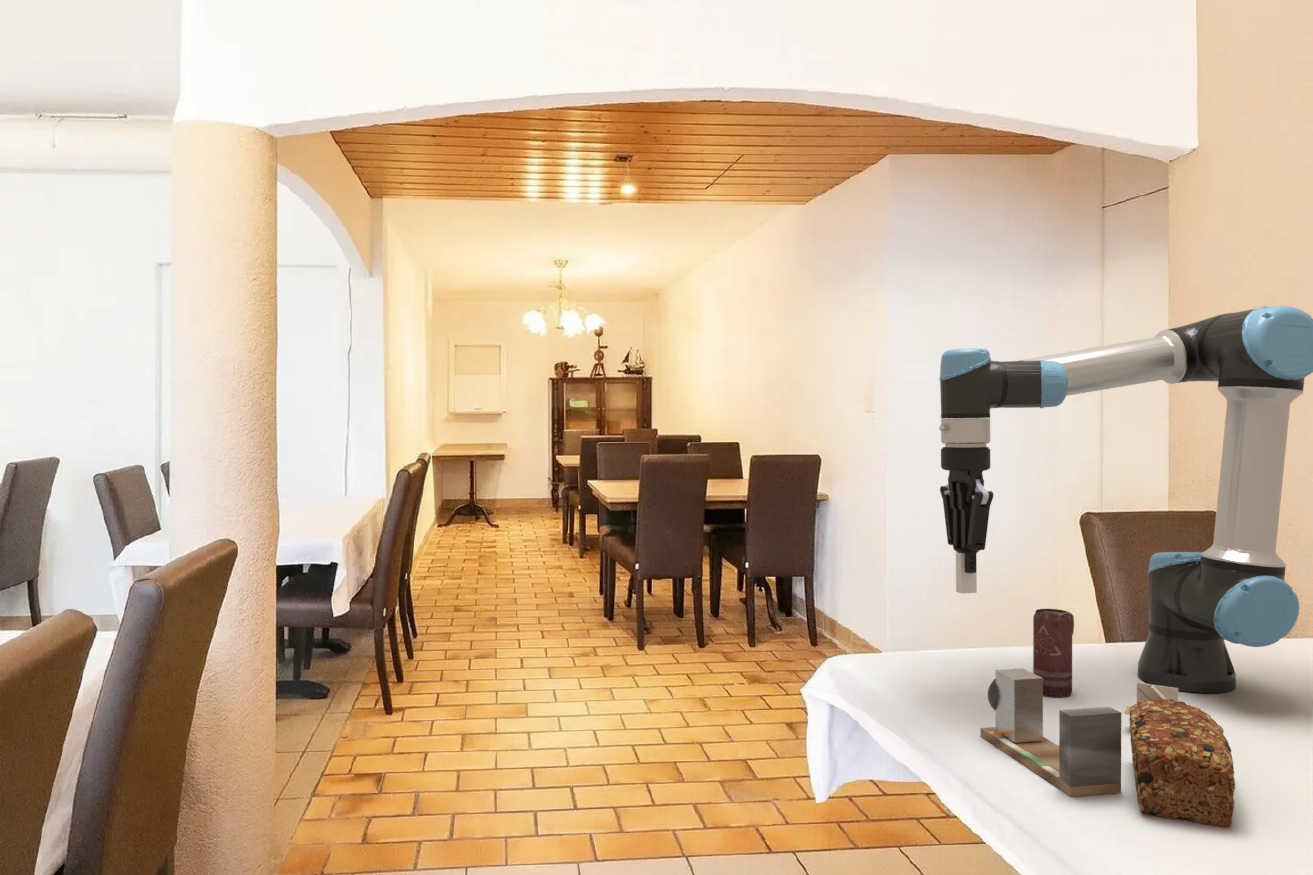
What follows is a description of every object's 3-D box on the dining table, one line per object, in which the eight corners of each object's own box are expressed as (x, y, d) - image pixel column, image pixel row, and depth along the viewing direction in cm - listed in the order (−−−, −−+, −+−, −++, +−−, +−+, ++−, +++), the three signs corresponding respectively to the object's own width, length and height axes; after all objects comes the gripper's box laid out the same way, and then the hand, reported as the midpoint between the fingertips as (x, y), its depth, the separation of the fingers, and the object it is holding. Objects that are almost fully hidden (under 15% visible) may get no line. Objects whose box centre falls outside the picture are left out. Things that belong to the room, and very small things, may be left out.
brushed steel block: (982, 729, 136) (982, 669, 135) (1025, 726, 137) (1025, 666, 136) (1003, 743, 130) (1003, 680, 130) (1047, 740, 131) (1048, 677, 131)
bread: (1128, 761, 127) (1128, 690, 126) (1218, 774, 122) (1219, 699, 122) (1133, 816, 110) (1133, 733, 110) (1238, 832, 105) (1238, 746, 105)
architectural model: (1177, 744, 134) (1177, 694, 134) (1124, 735, 138) (1124, 686, 137) (1179, 737, 137) (1179, 688, 136) (1127, 729, 141) (1127, 681, 140)
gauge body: (980, 735, 137) (980, 668, 137) (1023, 732, 138) (1023, 665, 138) (1070, 796, 115) (1070, 716, 115) (1121, 792, 116) (1121, 712, 116)
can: (1077, 698, 154) (1077, 615, 153) (1037, 696, 155) (1037, 614, 155) (1069, 688, 160) (1069, 608, 159) (1030, 686, 161) (1030, 607, 161)
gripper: (924, 444, 153) (925, 585, 154) (963, 447, 140) (964, 601, 141) (966, 443, 154) (967, 583, 155) (1009, 446, 141) (1010, 598, 142)
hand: (966, 591), depth 148 cm, fingers closed
